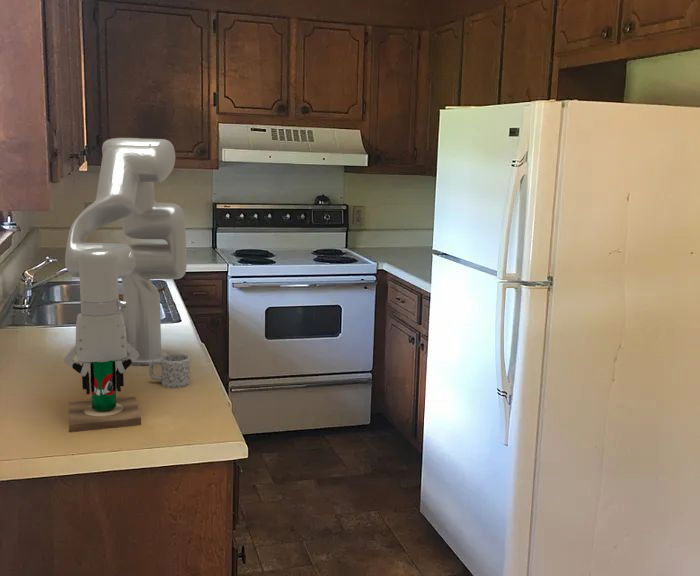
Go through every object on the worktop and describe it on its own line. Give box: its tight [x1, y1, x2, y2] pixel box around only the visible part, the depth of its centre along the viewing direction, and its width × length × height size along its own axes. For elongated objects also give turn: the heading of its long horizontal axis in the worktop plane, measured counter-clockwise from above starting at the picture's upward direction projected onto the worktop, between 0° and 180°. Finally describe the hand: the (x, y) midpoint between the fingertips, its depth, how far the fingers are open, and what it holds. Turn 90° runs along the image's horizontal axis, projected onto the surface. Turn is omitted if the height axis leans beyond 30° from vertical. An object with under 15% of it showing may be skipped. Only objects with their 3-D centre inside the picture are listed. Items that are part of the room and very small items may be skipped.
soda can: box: [89, 360, 117, 412], centre depth 157 cm, size 5×5×12 cm
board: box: [68, 396, 142, 433], centre depth 158 cm, size 14×14×2 cm
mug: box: [148, 353, 191, 389], centre depth 181 cm, size 10×7×7 cm, turn 86°
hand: (103, 390), depth 158 cm, fingers open, 5 cm apart
